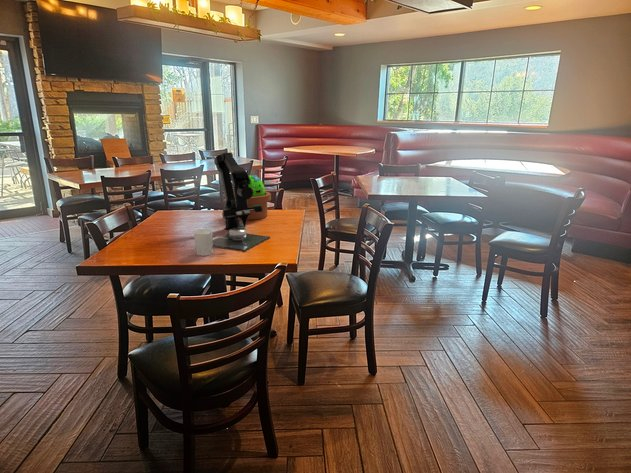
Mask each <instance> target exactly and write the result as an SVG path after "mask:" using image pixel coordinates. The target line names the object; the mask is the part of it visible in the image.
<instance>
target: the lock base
mask: <svg viewBox="0 0 631 473" xmlns="http://www.w3.org/2000/svg"><path fill="white" fill-rule="evenodd" d="M269 239H271V236H268V235H263V234H262V235H260V234H252V233H247V236H246V237H244V238H239V239H234V238H230V235H229V232H228V233H227V234H224V235H222V236H216V238H215V239H213V247H212V248H220V249H226V250H230V251H231V250H234V251H239V252H247V251H249V250H250V249H253V248H255V247H257V246H259V245H260V244H262V243H265V241H268V240H269Z"/></svg>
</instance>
